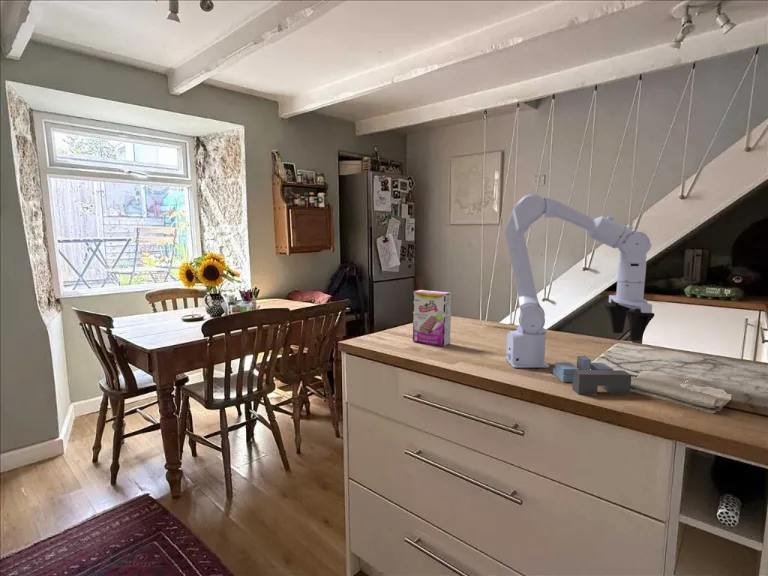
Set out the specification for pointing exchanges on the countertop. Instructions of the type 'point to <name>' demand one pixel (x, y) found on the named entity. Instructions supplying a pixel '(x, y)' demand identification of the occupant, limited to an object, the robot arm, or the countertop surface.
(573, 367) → the display stand
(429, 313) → the candy bar box
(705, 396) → the washcloth
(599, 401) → the countertop surface
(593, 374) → the dark grey rectangular block
